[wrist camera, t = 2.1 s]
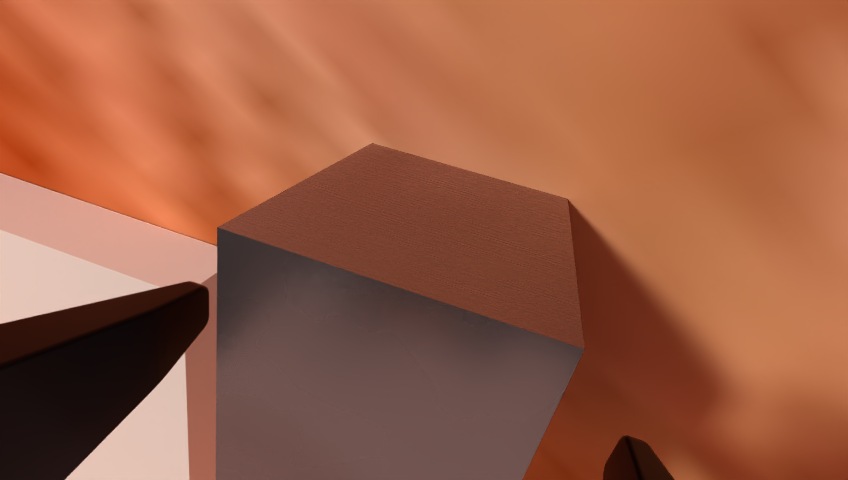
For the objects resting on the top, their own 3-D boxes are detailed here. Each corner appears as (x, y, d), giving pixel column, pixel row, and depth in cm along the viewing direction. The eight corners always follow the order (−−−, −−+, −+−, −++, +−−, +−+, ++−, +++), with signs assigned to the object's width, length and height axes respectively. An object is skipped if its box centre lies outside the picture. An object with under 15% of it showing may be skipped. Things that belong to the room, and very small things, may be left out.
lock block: (567, 197, 11) (584, 349, 5) (488, 406, 14) (448, 633, 8) (373, 142, 11) (217, 227, 6) (338, 352, 14) (215, 531, 9)
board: (242, 254, 14) (183, 295, 12) (232, 525, 20) (193, 585, 18) (-113, 134, 16) (-223, 149, 13) (-22, 414, 22) (-87, 456, 20)
